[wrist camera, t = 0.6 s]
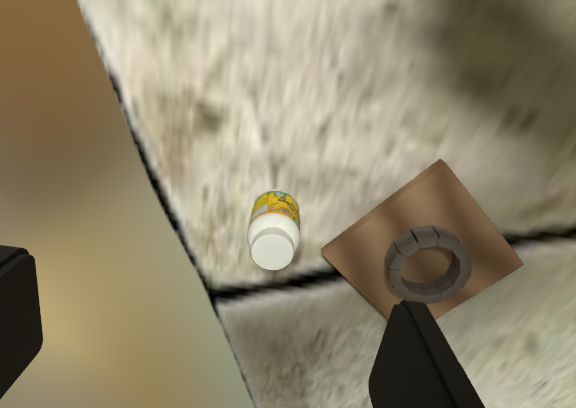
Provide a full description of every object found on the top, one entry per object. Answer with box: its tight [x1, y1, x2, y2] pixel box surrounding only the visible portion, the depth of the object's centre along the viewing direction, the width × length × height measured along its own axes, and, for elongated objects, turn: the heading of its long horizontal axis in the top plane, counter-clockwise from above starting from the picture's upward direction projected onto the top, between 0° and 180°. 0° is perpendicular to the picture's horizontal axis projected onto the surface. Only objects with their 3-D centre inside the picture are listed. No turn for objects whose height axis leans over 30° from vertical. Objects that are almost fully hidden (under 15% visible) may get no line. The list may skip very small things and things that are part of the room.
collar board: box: [321, 159, 524, 320], centre depth 44 cm, size 17×17×4 cm
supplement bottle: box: [247, 190, 300, 270], centre depth 39 cm, size 5×5×10 cm
